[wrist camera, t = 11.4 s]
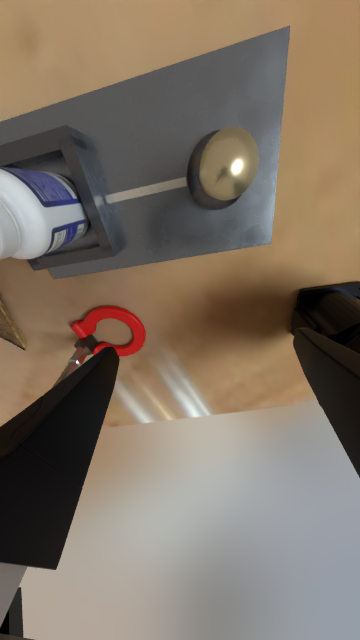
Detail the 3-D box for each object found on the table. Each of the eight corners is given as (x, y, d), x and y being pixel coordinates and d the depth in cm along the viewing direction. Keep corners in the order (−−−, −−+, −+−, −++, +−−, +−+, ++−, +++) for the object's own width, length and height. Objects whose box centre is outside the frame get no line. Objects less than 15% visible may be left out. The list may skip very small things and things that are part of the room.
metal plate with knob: (282, 39, 12) (370, -114, 6) (267, 240, 18) (301, 264, 12) (-18, 136, 15) (-151, 103, 9) (60, 275, 22) (10, 306, 16)
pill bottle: (18, 174, 16) (-136, 161, 8) (78, 170, 15) (-30, 153, 8) (47, 241, 19) (-48, 275, 11) (97, 239, 18) (32, 273, 11)
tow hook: (128, 295, 24) (68, 316, 25) (80, 381, 13) (-16, 405, 15) (155, 343, 28) (102, 357, 30) (137, 436, 17) (57, 449, 19)
